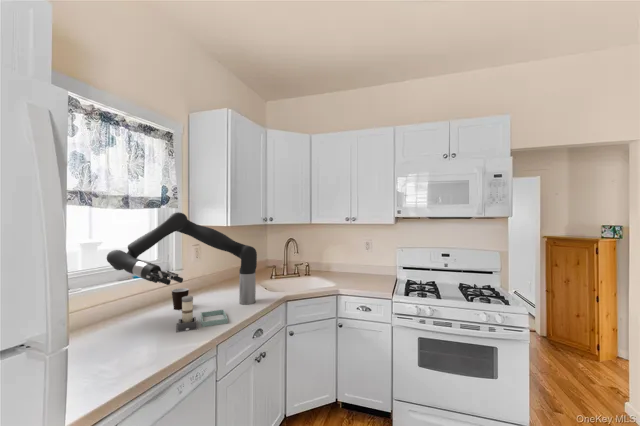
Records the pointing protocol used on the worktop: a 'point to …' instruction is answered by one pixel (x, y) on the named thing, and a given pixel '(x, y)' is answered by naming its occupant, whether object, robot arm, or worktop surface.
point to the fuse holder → (187, 325)
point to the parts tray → (213, 322)
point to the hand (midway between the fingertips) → (176, 281)
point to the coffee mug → (179, 297)
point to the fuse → (187, 309)
